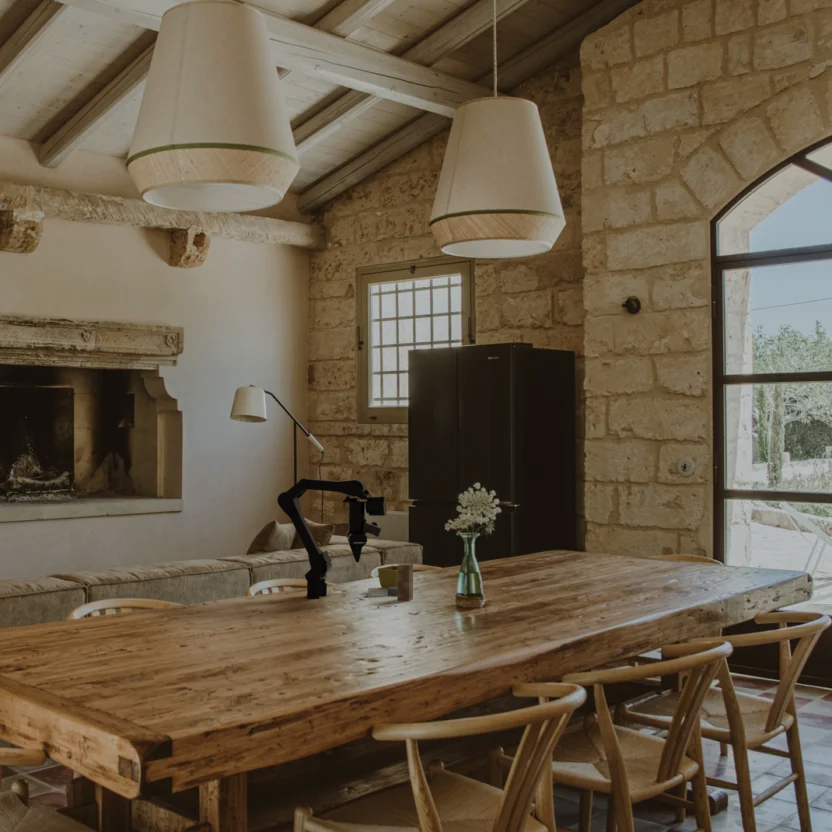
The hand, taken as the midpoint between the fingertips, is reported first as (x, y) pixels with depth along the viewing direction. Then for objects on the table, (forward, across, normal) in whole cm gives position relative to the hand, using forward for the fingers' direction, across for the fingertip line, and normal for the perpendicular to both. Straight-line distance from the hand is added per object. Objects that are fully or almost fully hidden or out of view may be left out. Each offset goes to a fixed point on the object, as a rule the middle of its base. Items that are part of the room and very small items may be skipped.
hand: (356, 560), depth 349 cm
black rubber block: (+12, +2, -14) cm, 18 cm away
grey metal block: (+12, 0, -7) cm, 14 cm away
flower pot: (+13, +10, -14) cm, 22 cm away
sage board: (+13, -4, -11) cm, 17 cm away
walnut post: (+12, -9, -16) cm, 22 cm away
